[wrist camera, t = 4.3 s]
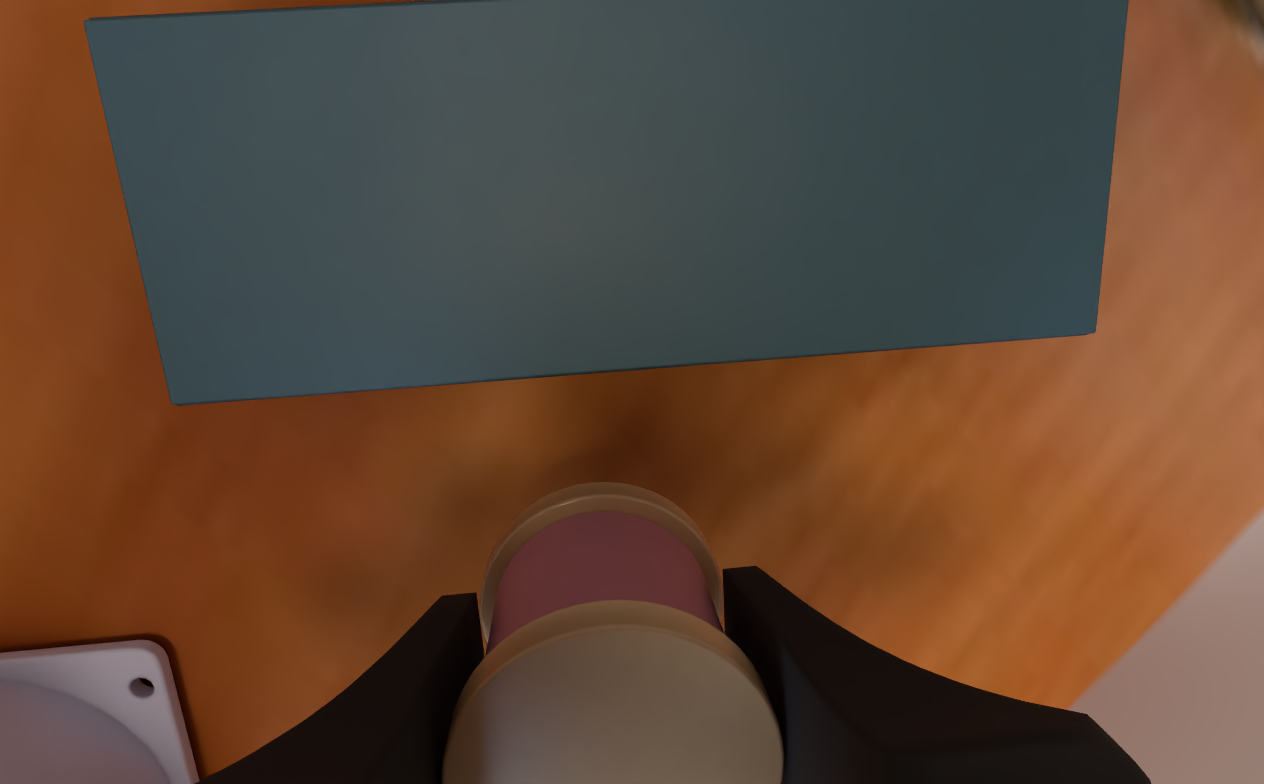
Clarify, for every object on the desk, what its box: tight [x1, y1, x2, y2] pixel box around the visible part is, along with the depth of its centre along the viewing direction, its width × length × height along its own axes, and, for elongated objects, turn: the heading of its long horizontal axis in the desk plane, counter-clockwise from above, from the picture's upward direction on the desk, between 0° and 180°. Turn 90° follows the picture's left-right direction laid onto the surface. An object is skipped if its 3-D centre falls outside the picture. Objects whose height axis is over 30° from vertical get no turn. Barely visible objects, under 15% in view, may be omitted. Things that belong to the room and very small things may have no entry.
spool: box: [442, 482, 784, 784], centre depth 13 cm, size 5×5×5 cm
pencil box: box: [84, 0, 1129, 406], centre depth 14 cm, size 16×6×4 cm, turn 94°
